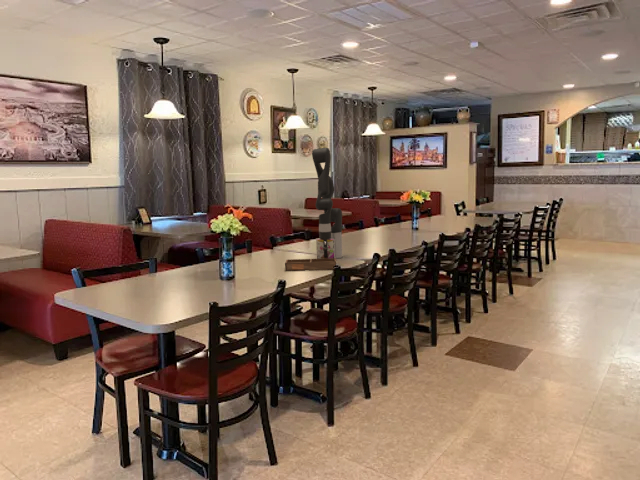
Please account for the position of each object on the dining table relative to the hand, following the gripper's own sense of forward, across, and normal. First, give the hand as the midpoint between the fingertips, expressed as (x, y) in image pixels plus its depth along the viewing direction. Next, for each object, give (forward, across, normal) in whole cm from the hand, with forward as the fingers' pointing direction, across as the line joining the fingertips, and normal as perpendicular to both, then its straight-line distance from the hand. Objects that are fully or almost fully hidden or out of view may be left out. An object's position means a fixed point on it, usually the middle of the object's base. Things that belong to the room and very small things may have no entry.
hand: (325, 256), depth 314 cm
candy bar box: (+6, 0, 0) cm, 6 cm away
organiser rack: (+5, -11, +9) cm, 15 cm away
